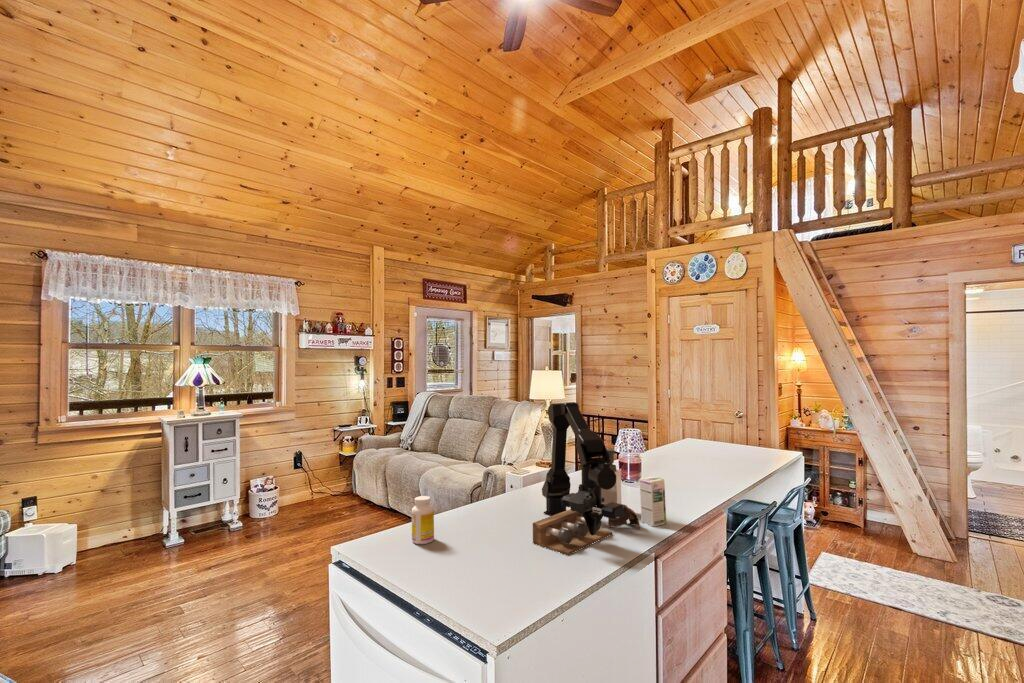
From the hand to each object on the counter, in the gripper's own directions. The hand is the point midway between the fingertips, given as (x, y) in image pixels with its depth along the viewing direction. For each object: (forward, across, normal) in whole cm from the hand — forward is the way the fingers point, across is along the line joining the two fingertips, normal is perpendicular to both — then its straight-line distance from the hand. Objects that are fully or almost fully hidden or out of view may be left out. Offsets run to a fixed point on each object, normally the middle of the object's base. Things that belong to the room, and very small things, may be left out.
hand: (592, 534), depth 138 cm
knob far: (+1, -7, +7) cm, 10 cm away
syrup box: (+3, +4, +29) cm, 29 cm away
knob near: (+1, -7, -7) cm, 10 cm away
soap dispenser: (+3, -14, +30) cm, 33 cm away
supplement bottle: (+3, -40, -32) cm, 51 cm away
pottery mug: (+3, -2, +19) cm, 20 cm away
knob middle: (+1, -7, 0) cm, 7 cm away
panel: (+3, -7, 0) cm, 8 cm away
